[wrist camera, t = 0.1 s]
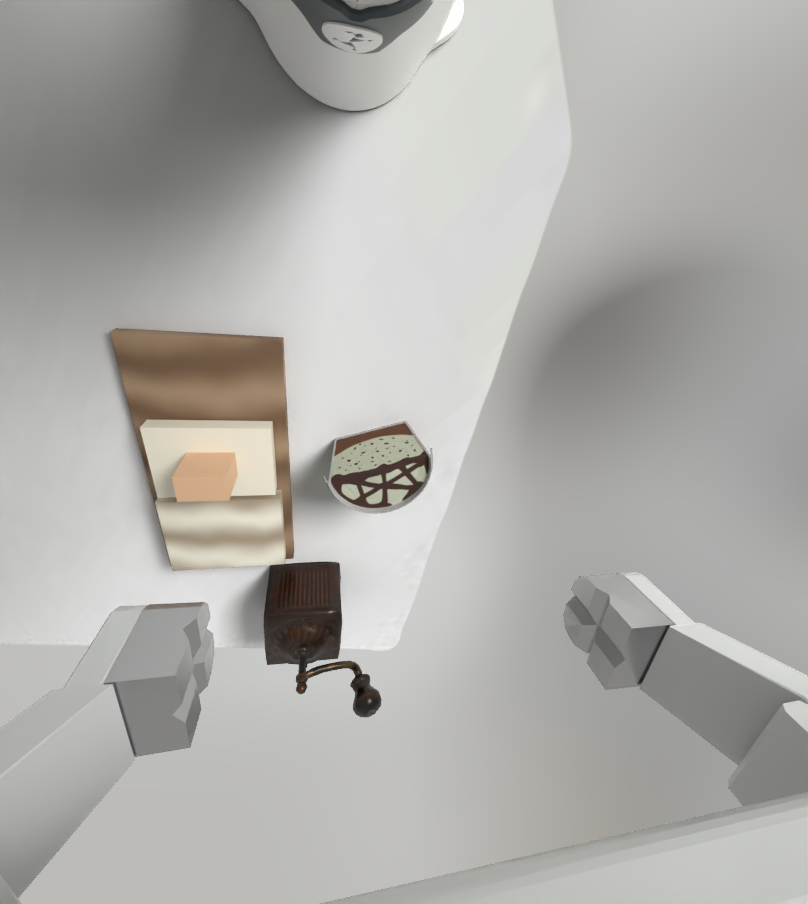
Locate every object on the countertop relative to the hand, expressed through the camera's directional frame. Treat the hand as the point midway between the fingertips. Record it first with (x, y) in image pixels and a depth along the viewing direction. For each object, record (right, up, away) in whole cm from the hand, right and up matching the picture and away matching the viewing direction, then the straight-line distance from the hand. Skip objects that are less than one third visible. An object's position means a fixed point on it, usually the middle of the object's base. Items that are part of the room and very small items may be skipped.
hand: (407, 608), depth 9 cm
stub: (-22, +3, +37) cm, 43 cm away
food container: (-4, +4, +43) cm, 43 cm away
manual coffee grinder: (-13, -18, +54) cm, 58 cm away
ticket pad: (-23, +2, +39) cm, 46 cm away
